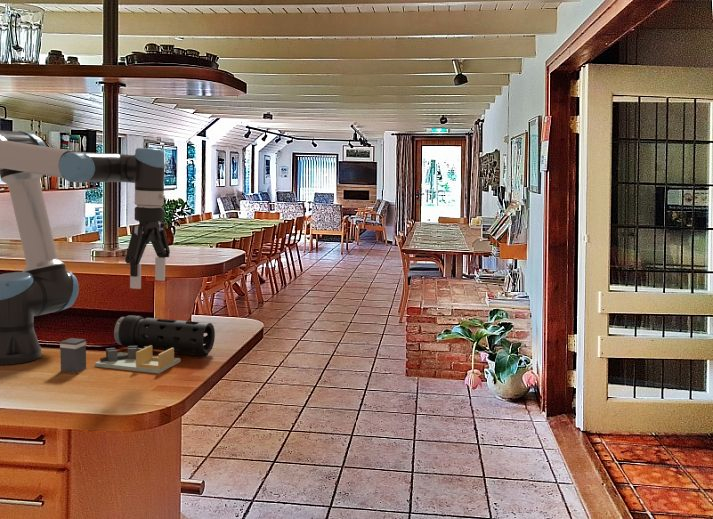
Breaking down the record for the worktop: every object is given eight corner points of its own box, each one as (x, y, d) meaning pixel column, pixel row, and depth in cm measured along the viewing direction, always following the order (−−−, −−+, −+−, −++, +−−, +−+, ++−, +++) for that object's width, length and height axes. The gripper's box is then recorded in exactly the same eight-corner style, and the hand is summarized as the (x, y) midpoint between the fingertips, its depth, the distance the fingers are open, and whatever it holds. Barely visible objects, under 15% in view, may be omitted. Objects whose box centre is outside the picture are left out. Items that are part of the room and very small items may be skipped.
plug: (60, 371, 186) (59, 341, 185) (71, 366, 190) (70, 337, 189) (75, 373, 184) (75, 343, 183) (86, 368, 189) (86, 339, 188)
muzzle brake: (202, 361, 200) (202, 325, 199) (112, 352, 205) (112, 318, 204) (215, 352, 209) (215, 318, 208) (129, 345, 215) (129, 311, 213)
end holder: (135, 366, 189) (135, 352, 188) (150, 359, 196) (150, 345, 195) (160, 369, 187) (160, 354, 186) (174, 361, 194) (174, 347, 194)
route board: (94, 366, 191) (94, 352, 190) (119, 355, 202) (119, 341, 202) (158, 373, 186) (158, 358, 186) (180, 361, 198) (180, 348, 198)
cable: (100, 361, 192) (99, 358, 192) (100, 358, 195) (100, 355, 195) (148, 359, 195) (148, 356, 195) (148, 356, 199) (148, 353, 198)
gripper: (138, 210, 175) (137, 293, 178) (182, 205, 200) (181, 278, 203) (111, 207, 177) (110, 290, 180) (158, 203, 201) (157, 276, 204)
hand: (148, 284), depth 191 cm, fingers open, 13 cm apart
